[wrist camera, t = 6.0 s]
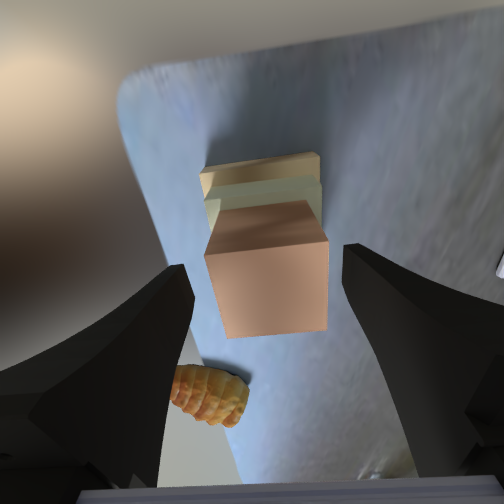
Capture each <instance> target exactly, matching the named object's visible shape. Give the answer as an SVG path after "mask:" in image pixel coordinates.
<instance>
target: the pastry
mask: <svg viewBox="0 0 504 504" xmlns="http://www.w3.org/2000/svg"><path fill="white" fill-rule="evenodd" d="M249 392H250V389H249V388H248V386H247V385H246V384H245V383H244V382H243V381H242V379H241V378H240V377H238V376H237V375H236V376H233V375H231V374H229V373H228V372H227V371H223V370H220V369H213V368H211V367H204V366H203V365H196V364H188V365H177V367H176V371H175V376H174V380H173V385H172V390H171V395H170V400H172V403H173V404H174V405H176V406H178V407H180V408H182V411H183V412H185V413H190V414H191V415H193V416H194V417H195V419H196V421H202V420H206V422H207V423H208V424H209V425H215V424H217V423H221V424H223V425H224V426H225V427H228V428H232V427H233V426H235V425H236V424H237V423H238V422H239V420H240V417H241V415H242V414H243V413H244V410H245V407H246V404H247V401H248V396H249Z"/></svg>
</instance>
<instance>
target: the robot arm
mask: <svg viewBox="0 0 504 504" xmlns="http://www.w3.org/2000/svg"><path fill="white" fill-rule="evenodd" d="M496 275H497V276H499V277H500V278H504V255H503V257H502V260H501V262H500V264H499V266H498V269H497V271H496ZM342 285H343V288H344V291H345V294H346V296H347V299H348V302H349V304H350V306H351V308H352V310H353V312H354V314H355V315H356V317H357V319H358V321H359V323H360V325H361V327H362V329H363V331H364V333H365V335H366V337H367V338H368V340H369V342H370V344H371V346H372V348H373V350H374V353H375V355H376V357H377V360H378V362H379V365H380V367H381V370H382V372H383V375H384V377H385V380H386V382H387V385H388V388H389V391H390V393H391V396H392V399H393V401H394V404H395V407H396V410H397V412H398V415H399V418H400V421H401V424H402V427H403V430H404V432H405V435H406V438H407V441H408V444H409V447H410V451H411V454H412V457H413V460H414V463H415V466H416V469H417V472H418V475H419V478H399V479H373V480H346V481H320V482H293V483H266V484H241V485H213V486H187V487H161V488H157V481H158V472H159V465H160V457H161V449H162V442H163V436H164V430H165V423H166V417H167V412H168V406H169V400H170V395H171V390H172V385H173V380H174V376H175V371H176V367H177V364H178V360H179V357H180V354H181V351H182V347H183V344H184V341H185V338H186V335H187V332H188V329H189V325H190V322H191V319H192V314H193V309H194V302H195V296H194V293H193V290H192V287H191V284H190V281H189V279H188V276H187V273H186V270H185V267H184V264H178V265H170V266H169V267H167V268H166V269H165V270H164V271H162V272H161V273H160V274H159V275H157V276H156V277H155V278H154V279H153V280H151V281H150V282H149V283H148V284H147V285H145V286H144V287H143V288H142V289H141V290H139V291H138V292H137V293H136V294H135V295H133V296H132V297H130V298H129V299H128V300H127V301H125V302H124V303H123V304H121V305H120V306H119V307H117V308H116V309H115V310H113V311H112V312H110V313H109V314H107V315H106V316H104V317H103V318H101V319H100V320H98V321H97V322H95V323H94V324H92V325H91V326H89V327H87V328H85V329H84V330H82V331H80V332H78V333H77V334H75V335H73V336H71V337H70V338H68V339H66V340H65V341H63V342H61V343H59V344H57V345H55V346H53V347H51V348H49V349H47V350H46V351H43V352H41V353H39V354H37V355H36V356H33V357H31V358H29V359H27V360H25V361H23V362H21V363H18V364H16V365H14V366H12V367H10V368H7V369H5V370H2V371H0V504H504V306H503V305H500V304H496V303H493V302H490V301H487V300H483V299H480V298H477V297H474V296H471V295H468V294H465V293H462V292H459V291H457V290H454V289H451V288H449V287H446V286H444V285H441V284H439V283H436V282H434V281H431V280H429V279H427V278H424V277H422V276H420V275H418V274H416V273H414V272H412V271H409V270H407V269H405V268H403V267H401V266H399V265H398V264H396V263H394V262H392V261H390V260H388V259H386V258H385V257H383V256H381V255H379V254H377V253H376V252H374V251H372V250H370V249H368V248H367V247H365V246H363V245H361V244H359V243H356V244H348V245H344V248H343V267H342Z"/></svg>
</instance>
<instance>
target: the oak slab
mask: <svg viewBox="0 0 504 504" xmlns="http://www.w3.org/2000/svg"><path fill="white" fill-rule="evenodd" d="M311 174H312V175H313V176H314V177H315V178H316V180H317V181H318V182H319V183H320V156H319V155H317V154H316V153H315V152H313V151H311V152H304V153H297V154H290V155H283V156H277V157H270V158H263V159H256V160H249V161H242V162H235V163H228V164H221V165H215V166H208V167H204V168H203V170H202V171H201V172H200V173H199V176H200V180H201V184H202V188H203V193H204V197H206V196H207V194H208V192H209V190H210V188H211V187H215V186H223V185H231V184H239V183H247V182H255V181H263V180H271V179H279V178H287V177H295V176H303V175H311Z"/></svg>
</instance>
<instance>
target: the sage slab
mask: <svg viewBox="0 0 504 504" xmlns="http://www.w3.org/2000/svg"><path fill="white" fill-rule="evenodd" d="M299 200H307V202H308V204H309V206H310V208H311V209H312V211H313V213H314V215H315V217H316V219H317V220H318V222H319V224H320V226H321V224H322V185H321V184H320V183H319V182H318V181H317V180H316V178H315V177H314V176H313V175H312V174H311V175H303V176H295V177H287V178H279V179H271V180H263V181H255V182H247V183H239V184H231V185H223V186H215V187H211V188H210V190H209V192H208V194H207V196H206V197H205V199H204V204H205V208H206V212H207V216H208V221H209V225H210V229H211V233H212V231H213V228H214V225H215V222H216V219H217V217H218V214H219V211H222V210H230V209H238V208H245V207H253V206H261V205H269V204H276V203H284V202H292V201H299Z"/></svg>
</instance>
